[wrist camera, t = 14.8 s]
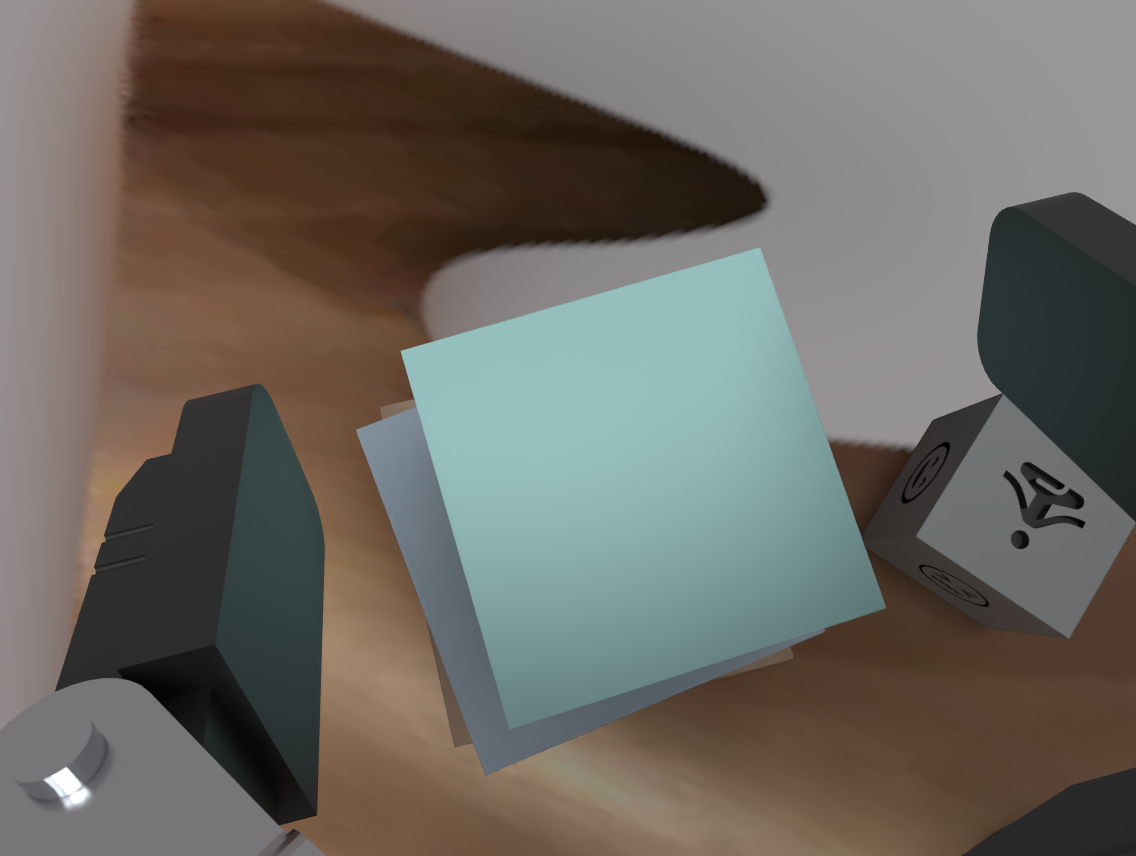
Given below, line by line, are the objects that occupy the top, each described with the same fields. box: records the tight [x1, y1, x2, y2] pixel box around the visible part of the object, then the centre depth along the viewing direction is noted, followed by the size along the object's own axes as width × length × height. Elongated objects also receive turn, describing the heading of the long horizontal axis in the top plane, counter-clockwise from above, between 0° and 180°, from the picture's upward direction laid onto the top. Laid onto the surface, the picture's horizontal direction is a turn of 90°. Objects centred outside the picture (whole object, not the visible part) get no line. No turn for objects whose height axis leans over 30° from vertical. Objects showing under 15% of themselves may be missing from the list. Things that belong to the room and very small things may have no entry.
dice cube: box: [861, 393, 1136, 639], centre depth 29 cm, size 5×5×5 cm
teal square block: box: [401, 248, 886, 730], centre depth 19 cm, size 6×6×9 cm
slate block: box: [356, 407, 825, 775], centre depth 25 cm, size 9×9×4 cm
